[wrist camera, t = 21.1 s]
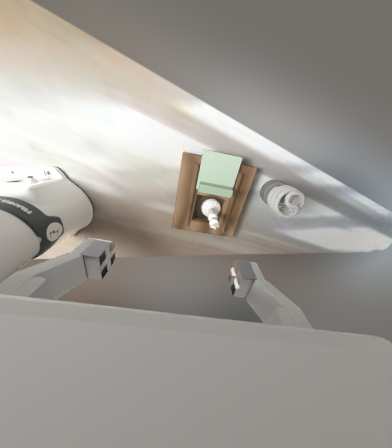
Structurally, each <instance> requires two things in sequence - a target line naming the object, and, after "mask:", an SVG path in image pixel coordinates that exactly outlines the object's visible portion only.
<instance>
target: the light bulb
mask: <svg viewBox="0 0 392 448" xmlns="http://www.w3.org/2000/svg"><path fill="white" fill-rule="evenodd" d="M260 196H261V198H262V199H263V201H264V202H265V203H266V204H268V205H269V207H270V208H271V210H272V211H274V212H275V213H276V214H278V215H279V216H281V217H283V218H291V217H293V216H295V215H296V214H297V213H298V212H299V210H300V209H301V208H302V207H303V205H304V203H305V196H304V194H303V193H302V192H300V191H299V190H298V189H296V188H295V187H292V186H289V185H286V184H285V183H283V182H281V181H278V180H270V181H268V182H266V183H265V184H264V185H263V186H262V188H261V191H260ZM293 198H294V199H293ZM292 200H293V201H292ZM284 201H285V202H284ZM279 205H280V206H285V207H281V208H279Z"/></svg>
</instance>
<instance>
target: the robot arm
mask: <svg viewBox="0 0 392 448" xmlns="http://www.w3.org/2000/svg"><path fill="white" fill-rule="evenodd" d="M49 172H50V173H51V174H50V173H49ZM92 218H93V208H92V205H91V202H90V200H89V198H88V197H87V196H86V194H85V193H84V192H83V191H82V190H81V189H80V188H79V187H78V186H76V185H75V184H74V183H72V182H71V181H70V180H69V179H67V177H66V176H65V175H64V173H63V172H62V171H61V170H60V169H59V168H57V167H0V448H392V343H390V342H389V341H387V340H386V339H383V338H381V337H377V336H371V335H361V334H352V333H343V332H334V331H325V330H316V329H312V327H311V325H310V324H309V322H308V320H307V319H306V318H305V315H304V314H303V312H302V310H301V309H300V308H299V307H298V306H296V305H295V304H294V303H293V302H292V301H290V300H289V299H288V298H287V297H286V296H285V295H283V294H282V293H281V292H280V291H279V290H277V289H276V288H275V287H274V286H273V285H272V284H270V283H269V282H268V281H265V279H264V277H263V275H262V273H261V271H260V269H259V267H258V265H257V264H256V263H255V262H246V261H239V260H234V262H233V267H232V268H231V269H230V272H229V282H230V283H231V284H232V286H231V291H232V295H233V296H234V297H240V298H245V300H246V301H247V302H248V303H249V305H250V306H251V307H252V309H253V310H254V311H255V312H256V314H257V315H258V316H259V318H260V319H261V320H262V321H263V323H254V322H246V321H236V320H228V319H219V318H209V317H201V316H193V315H183V314H175V313H166V312H157V311H148V310H138V309H131V308H121V307H112V306H104V305H95V304H86V303H77V302H68V301H58V300H56V299H57V298H59V297H60V296H61V295H63V294H65V293H66V292H68V291H70V290H71V289H73V288H74V287H76V286H77V285H79V284H80V283H82V282H84V281H85V280H87V278H90V279H100V280H102V279H103V278H104V276H105V275H106V273H107V272H108V270H107V268H109V267H111V266H112V264H113V262H114V259H115V251H114V250H113V248H114V247H115V246H114V242H113V241H107V240H101V239H95V238H87V239H85V240H84V241H83V242H82V243H81V244H80V245H79V246H78V247H77V248H76V249H75V250H73V251H72V252H71V253H67V254H64V255H61V256H59V257H56V258H53V259H50V260H48V261H45V262H43V263H40V264H37V265H35V266H32V267H29V268H26V269H24V270H21V271H18V272H15V271H16V270H18V269H19V268H20V267H21V266H23V265H24V264H25V263H26V262H28V261H29V260H31V259H34V258H37V257H38V256H40V255H42V254H43V253H45V252H46V251H47V250H48V249H49V248H51V247H52V246H54V245H55V244H57V243H59V242H60V241H62V240H63V239H65V238H67V237H72V236H73V235H75V234H76V233H77V231H78V230H80V229H82V228H84V227H86V226H87V225H88V224H89V223H90V222H91V220H92ZM14 272H15V273H14ZM11 274H12V275H11Z"/></svg>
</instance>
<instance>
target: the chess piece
mask: <svg viewBox="0 0 392 448" xmlns="http://www.w3.org/2000/svg"><path fill="white" fill-rule="evenodd" d="M201 209H202V212H203V214H204V215H205V216H207V217H208V220H209V221H210V222H209V225H210V228H214V229H216V228H217V227H219V225H218V224H219V222H218V220H217V219H218V216H217V215H218V214H219V213H220V210H221V205H220V203H219V202H218V201H217V200H215V199H208V200H206V201H204V202H203V204H202V207H201Z"/></svg>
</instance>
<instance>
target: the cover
mask: <svg viewBox="0 0 392 448" xmlns="http://www.w3.org/2000/svg"><path fill="white" fill-rule="evenodd" d="M241 161H242V157H237V156H233V155H228V154H223V153H219V152H214V151H210V150H205V149H203V154H202V160H201V165H200V170H199V175H198V180H197V185H196V189H198V192H202V193H207V194H212V195H218V196H223V197H228V198H231V197H232V194H233V187H234V184H235V180H236V177H237V174H238V171H239V168H240V165H241Z"/></svg>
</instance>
